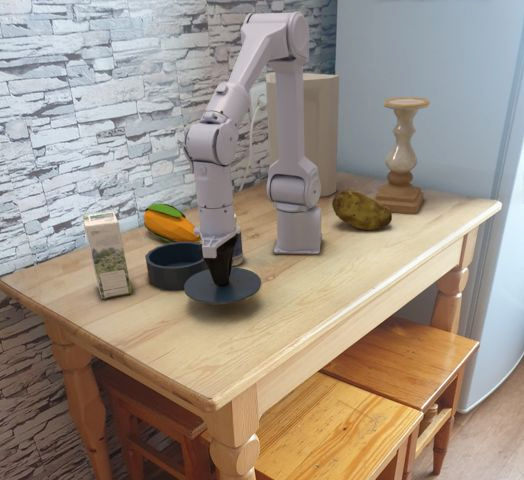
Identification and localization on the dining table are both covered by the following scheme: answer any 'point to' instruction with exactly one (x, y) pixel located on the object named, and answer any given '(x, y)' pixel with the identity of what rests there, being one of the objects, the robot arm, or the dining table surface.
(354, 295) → the dining table surface
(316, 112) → the paper bag
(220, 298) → the lid
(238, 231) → the pill bottle
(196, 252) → the pot
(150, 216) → the corn
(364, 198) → the potato
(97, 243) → the syrup box
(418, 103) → the candle holder
